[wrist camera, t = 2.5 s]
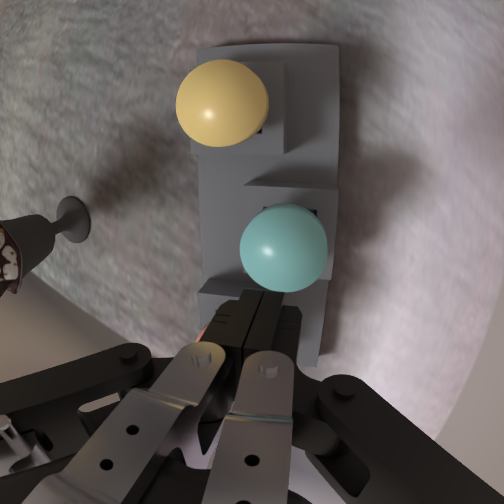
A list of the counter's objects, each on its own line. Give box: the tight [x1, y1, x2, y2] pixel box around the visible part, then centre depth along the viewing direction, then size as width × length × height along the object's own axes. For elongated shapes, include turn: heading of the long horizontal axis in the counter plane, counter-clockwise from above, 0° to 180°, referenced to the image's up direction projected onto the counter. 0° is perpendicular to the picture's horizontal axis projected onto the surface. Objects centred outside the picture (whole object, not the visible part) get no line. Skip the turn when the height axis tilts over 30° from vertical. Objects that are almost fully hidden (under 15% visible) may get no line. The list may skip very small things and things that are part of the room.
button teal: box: [240, 203, 328, 292], centre depth 19 cm, size 5×5×4 cm
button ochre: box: [176, 59, 269, 147], centre depth 17 cm, size 5×5×4 cm
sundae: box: [0, 197, 89, 297], centre depth 21 cm, size 7×7×15 cm
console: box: [190, 43, 340, 367], centre depth 22 cm, size 26×10×4 cm, turn 0°
